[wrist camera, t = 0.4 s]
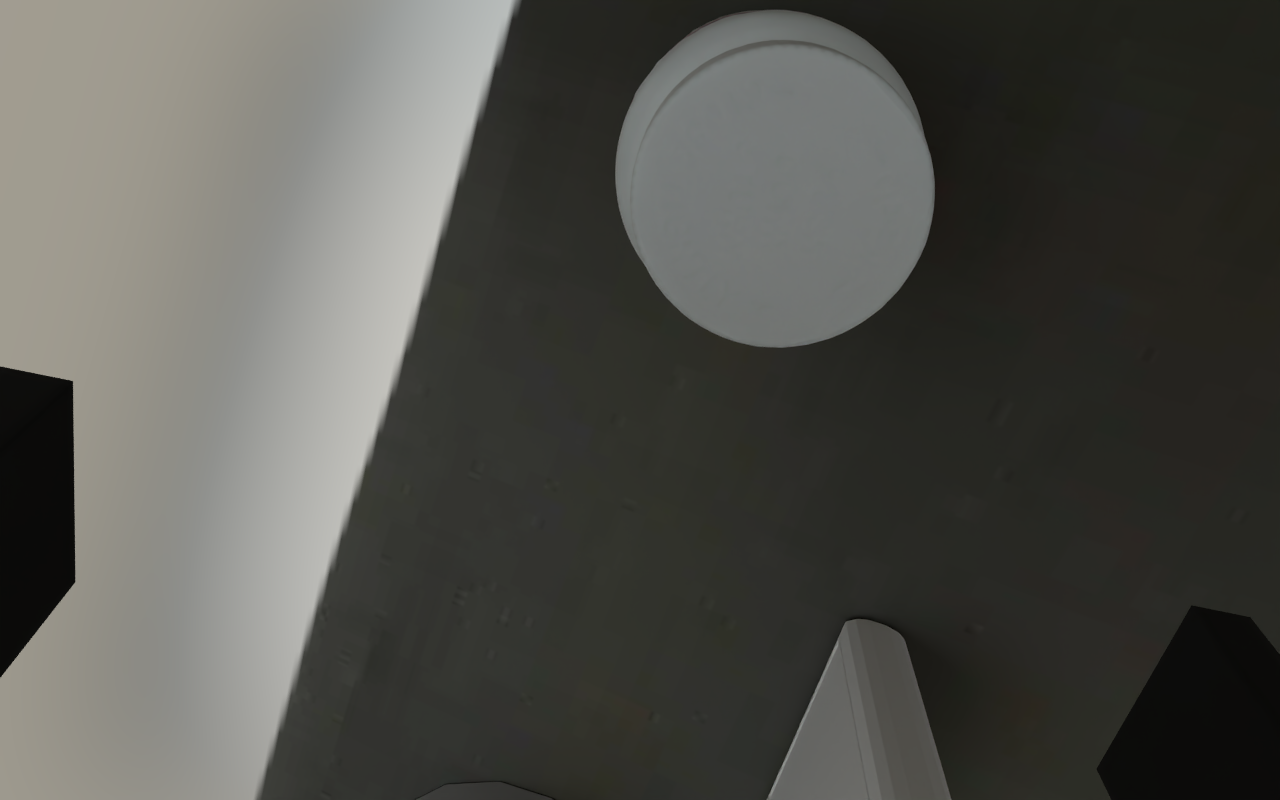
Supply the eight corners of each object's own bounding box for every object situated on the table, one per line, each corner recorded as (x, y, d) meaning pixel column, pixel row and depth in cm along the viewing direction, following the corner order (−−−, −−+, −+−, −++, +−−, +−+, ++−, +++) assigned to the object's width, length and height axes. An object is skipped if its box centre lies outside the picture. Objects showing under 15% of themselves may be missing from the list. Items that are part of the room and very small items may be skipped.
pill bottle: (599, 176, 29) (531, 270, 19) (714, -37, 27) (713, -68, 17) (792, 287, 30) (832, 439, 19) (919, 87, 28) (1043, 135, 17)
